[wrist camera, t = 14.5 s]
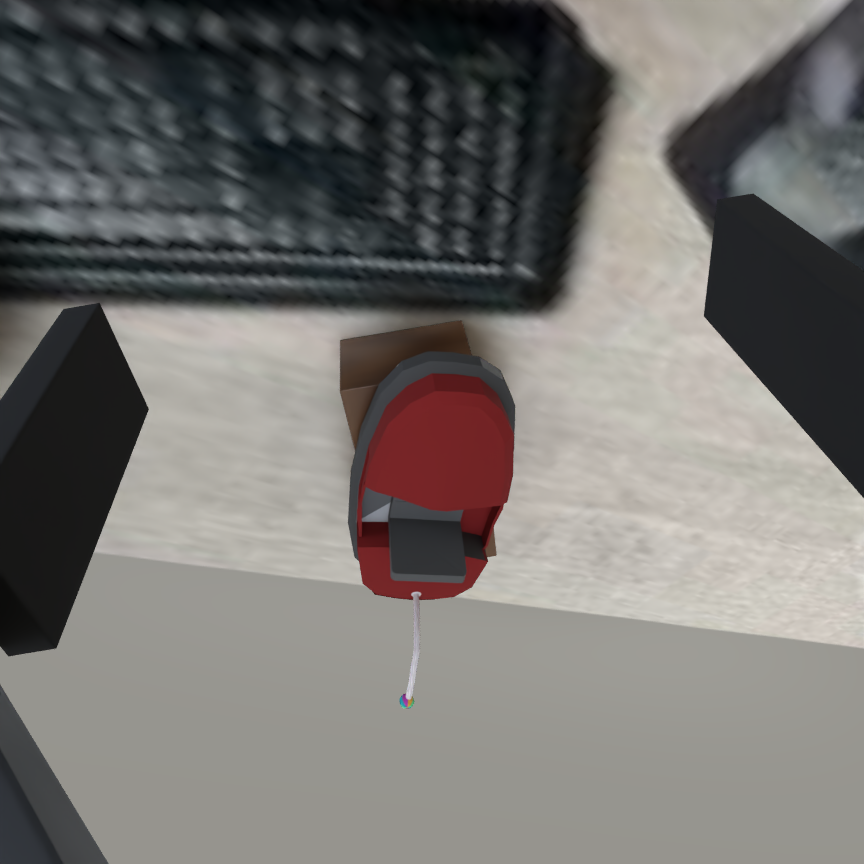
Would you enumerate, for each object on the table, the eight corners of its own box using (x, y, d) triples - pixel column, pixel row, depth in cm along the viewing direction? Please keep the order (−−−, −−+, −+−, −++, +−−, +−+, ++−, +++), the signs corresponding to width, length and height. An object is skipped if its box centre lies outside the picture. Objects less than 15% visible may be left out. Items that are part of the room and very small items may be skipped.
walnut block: (461, 319, 46) (475, 368, 41) (483, 499, 55) (496, 555, 51) (339, 340, 46) (339, 390, 41) (382, 516, 55) (386, 574, 51)
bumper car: (536, 356, 41) (583, 467, 33) (468, 588, 52) (490, 712, 44) (366, 339, 39) (372, 451, 31) (334, 583, 51) (333, 711, 43)
